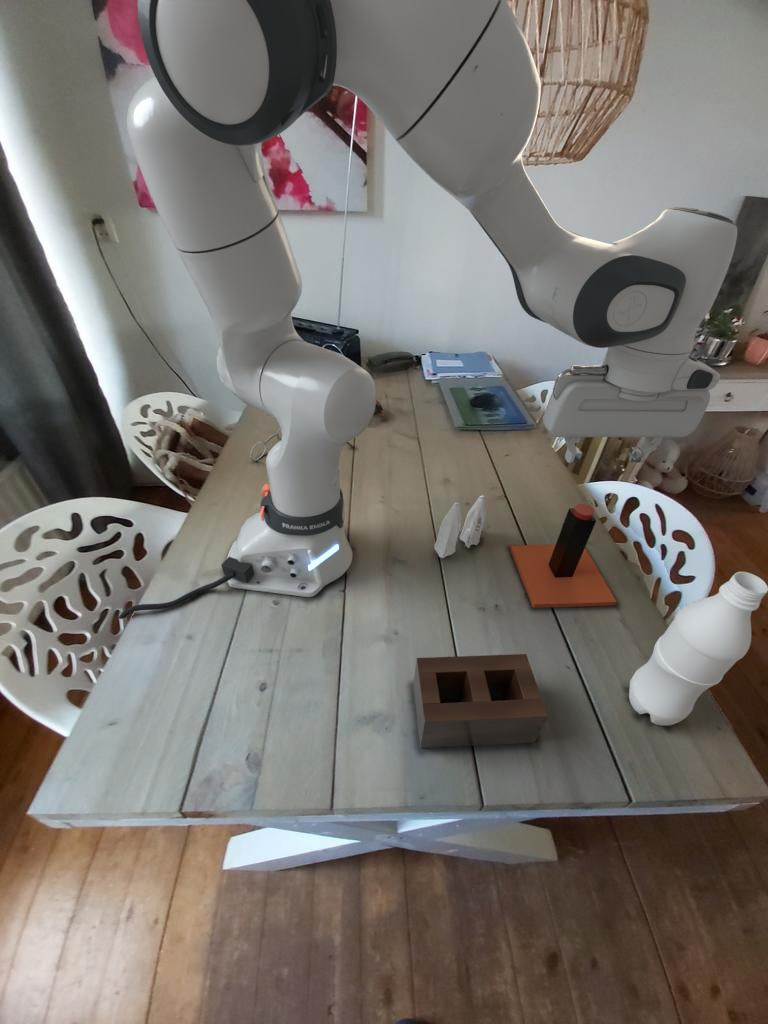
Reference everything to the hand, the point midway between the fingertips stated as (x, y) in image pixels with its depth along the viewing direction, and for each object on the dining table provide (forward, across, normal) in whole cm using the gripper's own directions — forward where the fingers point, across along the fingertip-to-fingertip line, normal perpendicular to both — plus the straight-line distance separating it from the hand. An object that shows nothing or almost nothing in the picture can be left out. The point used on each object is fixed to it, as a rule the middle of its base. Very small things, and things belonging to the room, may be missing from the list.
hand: (603, 460), depth 63 cm
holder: (+25, -21, -24) cm, 40 cm away
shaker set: (+24, -16, +8) cm, 31 cm away
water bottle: (+24, +4, -24) cm, 34 cm away
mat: (+24, 0, 0) cm, 24 cm away
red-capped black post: (+23, 0, 0) cm, 23 cm away
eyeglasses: (+24, -48, +41) cm, 68 cm away
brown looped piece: (+24, -32, +61) cm, 73 cm away
